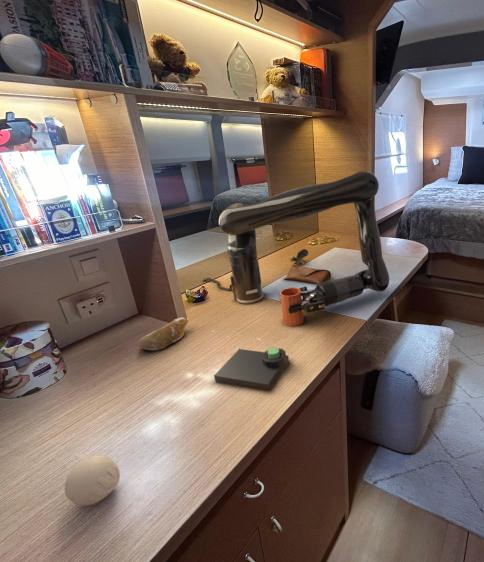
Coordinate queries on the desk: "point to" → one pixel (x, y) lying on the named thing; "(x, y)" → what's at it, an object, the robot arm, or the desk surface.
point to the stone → (163, 335)
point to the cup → (287, 299)
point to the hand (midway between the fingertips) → (284, 305)
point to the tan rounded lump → (91, 480)
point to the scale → (252, 369)
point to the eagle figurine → (299, 257)
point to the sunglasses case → (308, 275)
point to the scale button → (273, 353)
